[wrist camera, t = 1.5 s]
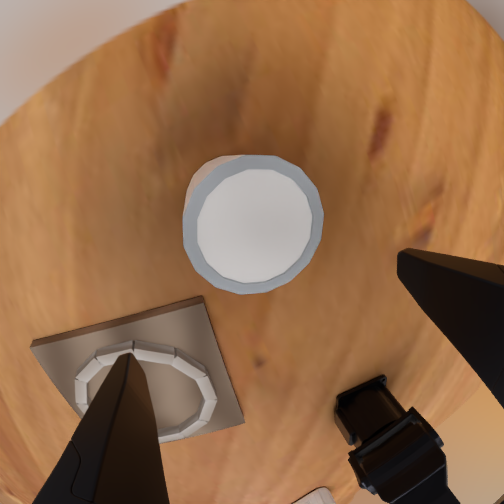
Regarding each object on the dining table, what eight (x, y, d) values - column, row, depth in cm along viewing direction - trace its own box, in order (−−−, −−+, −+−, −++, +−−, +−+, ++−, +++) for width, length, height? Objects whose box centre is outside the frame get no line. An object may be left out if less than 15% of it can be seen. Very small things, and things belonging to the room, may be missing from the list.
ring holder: (201, 295, 23) (205, 310, 21) (243, 415, 29) (248, 430, 27) (32, 340, 20) (26, 355, 19) (110, 444, 27) (110, 458, 25)
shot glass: (294, 210, 22) (345, 244, 16) (213, 264, 22) (234, 320, 16) (245, 126, 19) (284, 125, 13) (155, 185, 19) (150, 213, 13)
